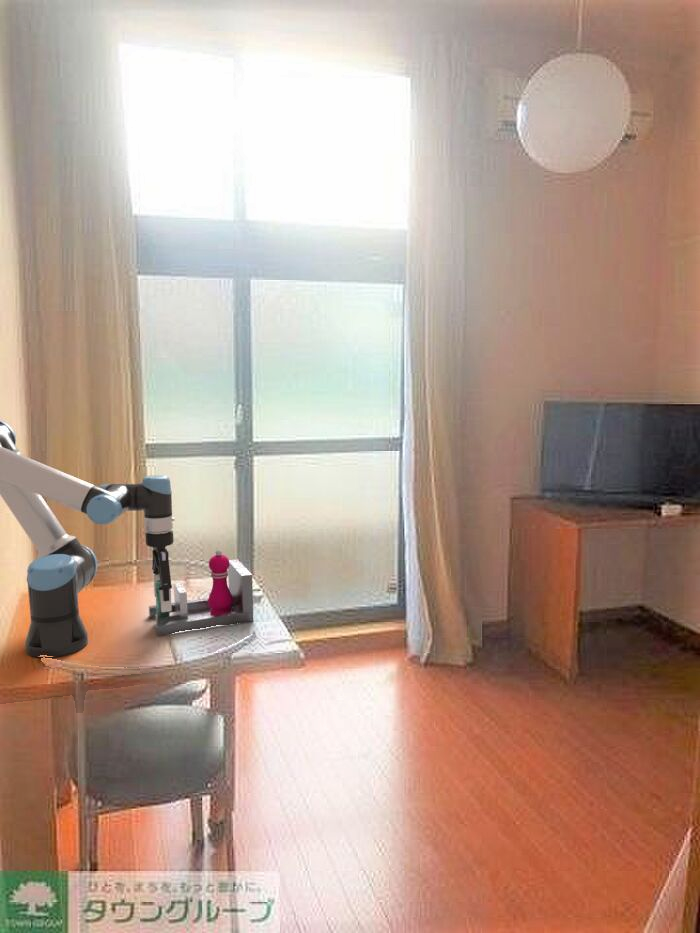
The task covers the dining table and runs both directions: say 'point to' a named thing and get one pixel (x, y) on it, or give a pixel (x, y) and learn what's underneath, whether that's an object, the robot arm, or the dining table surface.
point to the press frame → (241, 605)
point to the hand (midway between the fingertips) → (162, 603)
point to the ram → (180, 604)
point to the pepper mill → (219, 585)
